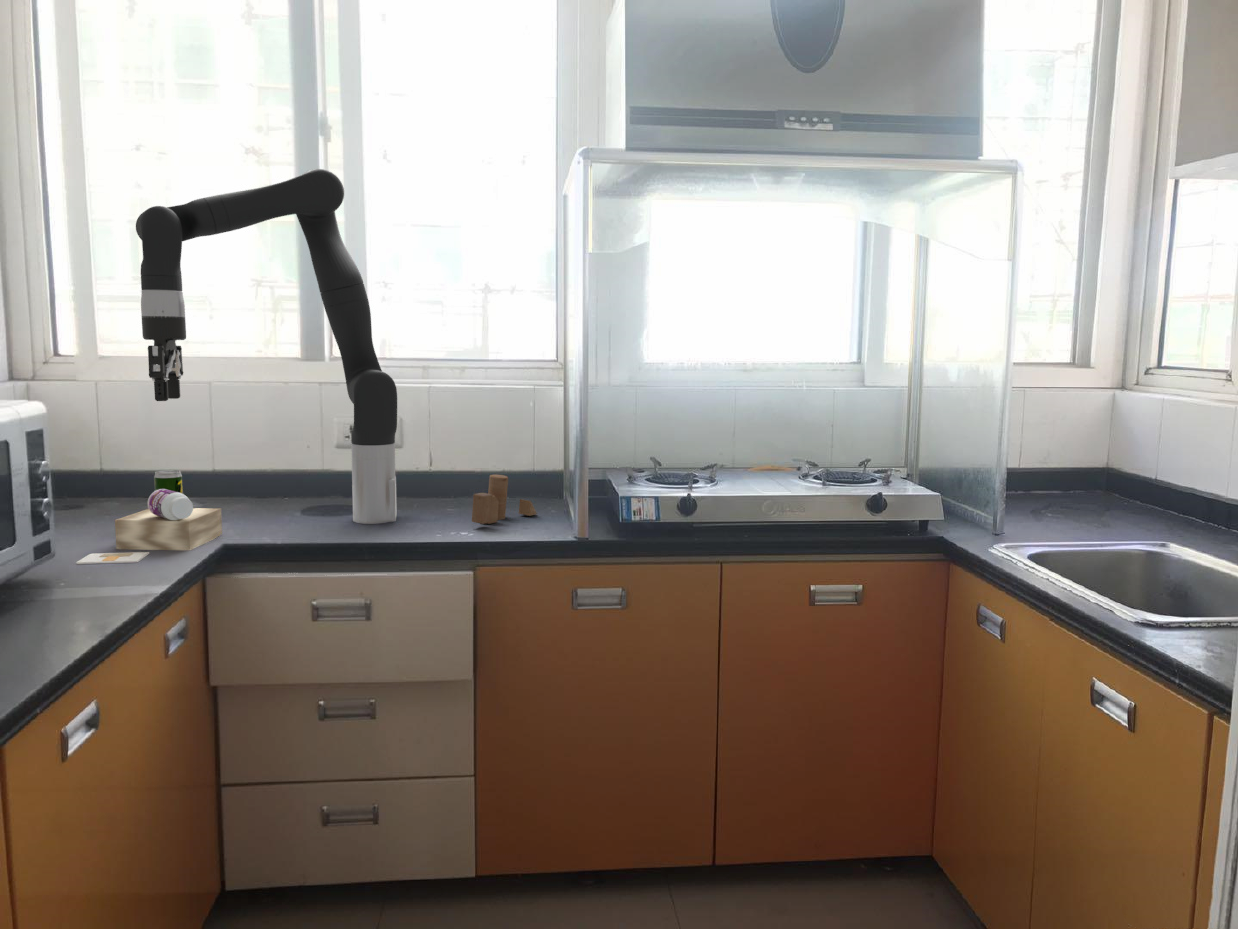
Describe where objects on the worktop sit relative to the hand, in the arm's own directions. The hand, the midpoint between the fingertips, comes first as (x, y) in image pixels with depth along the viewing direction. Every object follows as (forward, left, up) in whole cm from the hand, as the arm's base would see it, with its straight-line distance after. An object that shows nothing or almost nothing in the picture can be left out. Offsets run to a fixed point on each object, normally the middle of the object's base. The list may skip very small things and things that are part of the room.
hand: (168, 399), depth 178 cm
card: (+7, +14, -28) cm, 32 cm away
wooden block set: (-64, -11, -28) cm, 71 cm away
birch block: (+1, 0, -29) cm, 29 cm away
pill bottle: (+2, +2, -20) cm, 20 cm away
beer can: (+5, -15, -28) cm, 32 cm away
